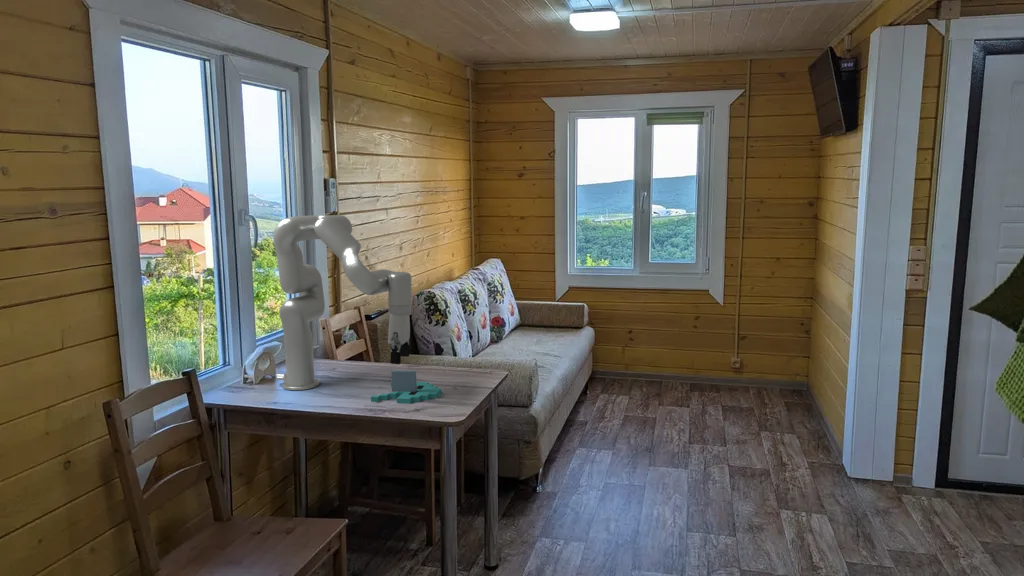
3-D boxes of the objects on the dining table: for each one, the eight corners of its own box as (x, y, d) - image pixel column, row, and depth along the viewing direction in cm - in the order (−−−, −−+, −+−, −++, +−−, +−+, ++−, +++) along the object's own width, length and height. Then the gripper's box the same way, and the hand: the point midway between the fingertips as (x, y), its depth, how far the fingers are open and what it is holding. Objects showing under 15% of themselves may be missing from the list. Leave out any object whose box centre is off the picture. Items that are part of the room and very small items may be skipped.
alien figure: (371, 403, 228) (429, 406, 224) (370, 396, 227) (429, 400, 223) (393, 386, 247) (447, 389, 243) (393, 380, 247) (447, 383, 243)
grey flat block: (415, 391, 232) (392, 391, 233) (416, 390, 234) (393, 389, 235) (414, 371, 231) (391, 371, 232) (416, 370, 233) (392, 369, 234)
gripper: (396, 304, 238) (397, 353, 241) (380, 313, 221) (380, 366, 224) (418, 305, 237) (418, 354, 240) (403, 315, 220) (403, 367, 223)
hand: (400, 359), depth 232 cm, fingers open, 9 cm apart
